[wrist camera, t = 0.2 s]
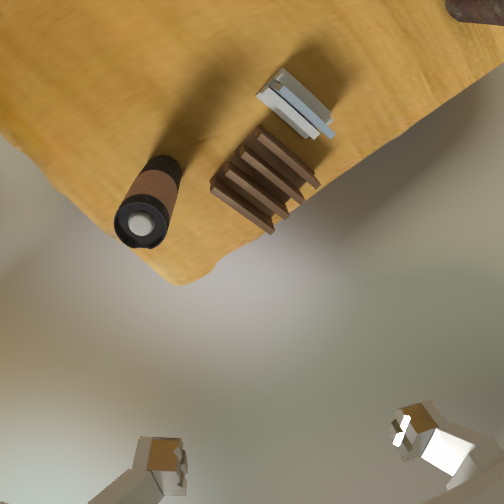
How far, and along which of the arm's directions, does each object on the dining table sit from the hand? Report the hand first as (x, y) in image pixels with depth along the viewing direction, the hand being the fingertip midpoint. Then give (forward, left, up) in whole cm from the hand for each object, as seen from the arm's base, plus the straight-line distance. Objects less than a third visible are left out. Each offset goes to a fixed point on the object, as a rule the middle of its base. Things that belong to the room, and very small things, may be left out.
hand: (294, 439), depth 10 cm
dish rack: (+4, +11, -51) cm, 53 cm away
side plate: (-10, +6, -50) cm, 52 cm away
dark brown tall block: (-53, +14, -52) cm, 75 cm away
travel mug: (+15, -4, -52) cm, 54 cm away
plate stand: (-10, +6, -51) cm, 53 cm away
